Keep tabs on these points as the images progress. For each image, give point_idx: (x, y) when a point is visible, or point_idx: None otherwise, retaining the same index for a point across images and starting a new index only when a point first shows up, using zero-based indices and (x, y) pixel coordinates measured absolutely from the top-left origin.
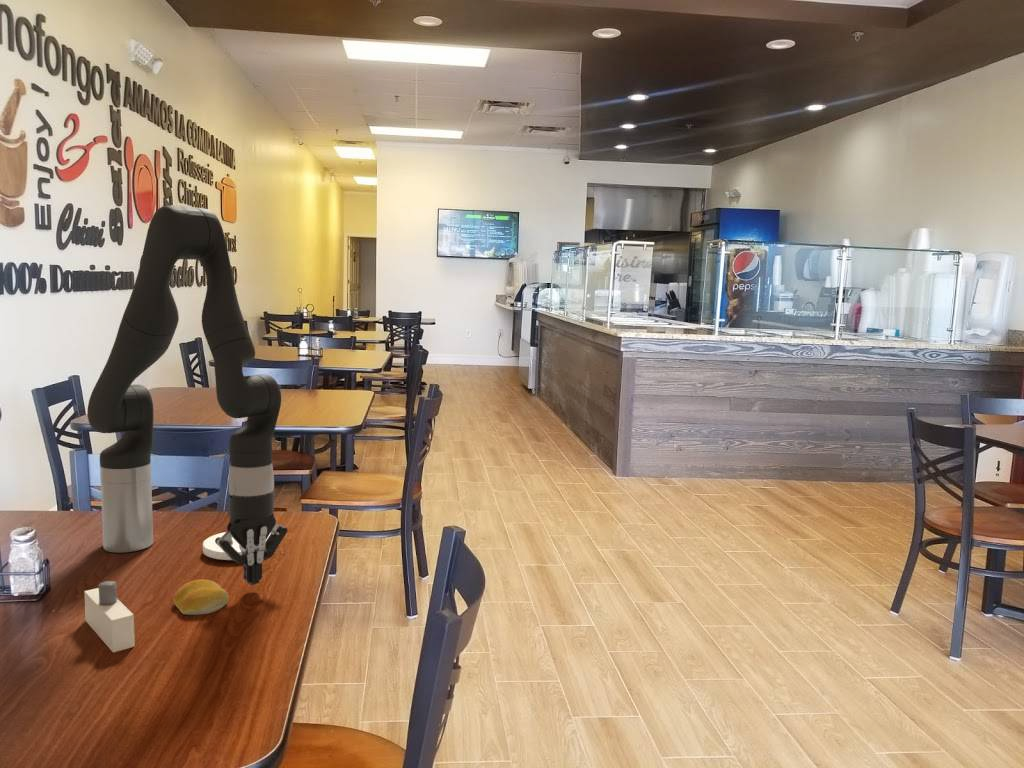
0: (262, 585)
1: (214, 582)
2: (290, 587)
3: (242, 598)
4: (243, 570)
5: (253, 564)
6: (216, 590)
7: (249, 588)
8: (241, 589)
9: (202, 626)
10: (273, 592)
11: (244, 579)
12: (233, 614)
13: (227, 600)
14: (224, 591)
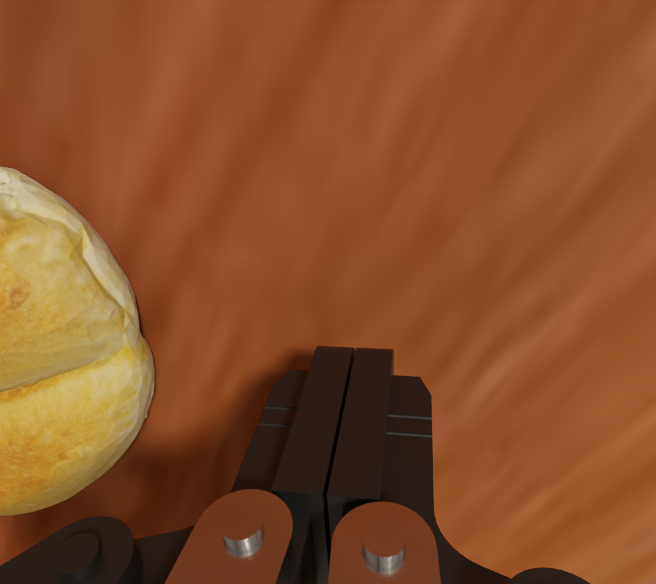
0: (479, 294)
1: (15, 339)
2: (614, 450)
3: (255, 398)
4: (251, 441)
5: (319, 578)
6: (15, 497)
7: (364, 283)
8: (304, 262)
9: (9, 524)
10: (466, 444)
11: (283, 381)
12: (154, 519)
13: (145, 416)
14: (89, 468)
